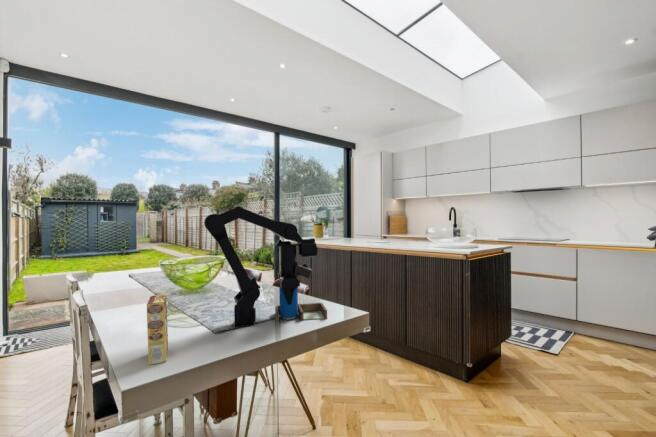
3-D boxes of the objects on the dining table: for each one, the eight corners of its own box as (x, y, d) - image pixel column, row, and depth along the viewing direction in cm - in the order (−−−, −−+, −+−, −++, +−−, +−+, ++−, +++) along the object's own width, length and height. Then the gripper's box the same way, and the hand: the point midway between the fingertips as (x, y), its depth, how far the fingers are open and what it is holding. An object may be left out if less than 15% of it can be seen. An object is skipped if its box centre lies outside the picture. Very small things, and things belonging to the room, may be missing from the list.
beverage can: (296, 320, 113) (296, 285, 113) (278, 320, 113) (277, 285, 113) (298, 314, 119) (298, 282, 119) (281, 314, 119) (281, 282, 119)
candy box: (166, 362, 81) (165, 301, 81) (147, 365, 80) (146, 303, 79) (168, 349, 89) (167, 293, 89) (151, 352, 88) (150, 295, 88)
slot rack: (276, 322, 111) (276, 313, 111) (275, 313, 121) (275, 305, 121) (327, 318, 114) (327, 310, 114) (321, 310, 124) (321, 302, 124)
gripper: (314, 261, 108) (315, 307, 108) (307, 254, 127) (307, 294, 127) (281, 262, 106) (281, 310, 106) (278, 255, 124) (278, 296, 125)
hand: (288, 302), depth 116 cm, fingers closed on beverage can, 6 cm apart
